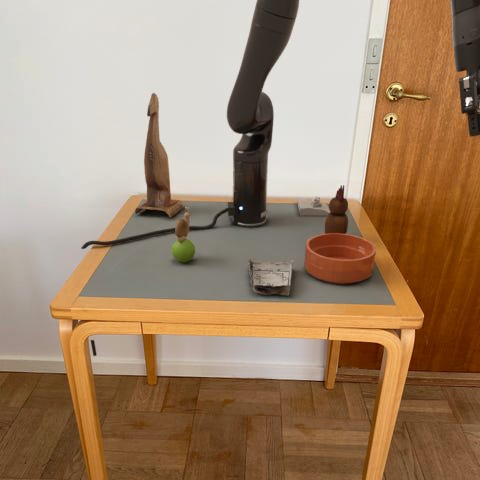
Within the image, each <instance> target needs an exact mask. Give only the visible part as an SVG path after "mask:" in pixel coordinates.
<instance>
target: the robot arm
mask: <svg viewBox="0 0 480 480" xmlns="http://www.w3.org/2000/svg"><path fill="white" fill-rule="evenodd" d="M299 7H300V0H256V2H255V7H254V11H253V15H252V19H251V22H250V23H251V24H250V27H249V28H250V29H249V32H248V36H247V41H246V44H245V48H244V51H243V56H242V60H241V63H240V66H239V70H238V74H237V76H236V79H235V82H234V85H233V87H232V91H231V93H230V96H229V99H228V102H227V107H226V120H227V124H228V126H229V128H230V129H231V131H232V132H233V133H235V134H239V135H241V137H240V139H239V141H238V142H237V144H236V145H235V146H234V147H233V150H232V201H227V207H226V208H224V209H222V210H220V211H218V213H216V214H215V215H214V217H213V220H212V222H211V223H209V224H208V225H204V226H203V225H202V226H199V225H189V231H190V230H193V231H201V230H202V231H203V230H209V229H212V228H213V227H215V225H216V224H217V221H218V219H219V218H220V217H221V216H222V215H225V213H227V217H232V224H233V226H240V227H246V228H254V227H255V228H256V227H260V226H262V225H265V224H266V223H267V215H268V212H269V210H268V209H267V199H268V197H267V196H268V195H267V194H268V170H269V169H268V168H269V152H270V151H271V148H272V143H273V133H274V132H273V131H274V117H275V115H274V114H275V113H274V105H273V101H272V99H271V98H270V96H269V95H268V94H267V93H266V92H264V91H263V90H264V86H265V83H266V81H267V79H268V77H269V75H270V73H271V71H272V70H273V68H274V67H275V65H276V63H277V62H278V61H279V60H280V58H281V56H282V54H283V53H284V51H285V49H286V48H287V46H288V44H289V41H290V39H291V36H292V34H293V30H294V26H295V23H296V20H297V16H298V12H299ZM450 11H451V36H452V46H453V47H452V48H453V56H454V57H453V59H454V67H455V72H456V73H461V72H466V75H465V76H464V77H460V78H459V79H458V84H459V86H458V87H459V98H460V112H461V114H462V115H464V114H465V116H466V117H467V124H468V125H467V127H468V135H469V137H471V138H472V137H478V136H480V0H450ZM173 232H175V227H172V228H171V227H170V228H166V229H165V228H164V229H159V230H154V231H149V232H146V233H142V234H137V235H132V236H128V237H124V238H119V239H113V240H107V241H100V240H89V241H86V242H85V243H84V244H83V245H82V246H81V247H80V249H82V250H85V249H87V248H88V247H89V246H92V245H97V246H112V245H117V244H121V243H126V242H130V241H135V240H139V239H143V238H144V239H145V238H148V237H152V236H157V235H162V234H167V233H173ZM90 345H91V350H92V351H91V352H92V356H93V357H96V356H97V349H96V343H95V340H94V339H90Z"/></svg>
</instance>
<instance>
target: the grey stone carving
mask: <svg viewBox="0 0 480 480" xmlns="http://www.w3.org/2000/svg"><path fill="white" fill-rule="evenodd" d="M297 208H298V212H299V215H300V216H319V217H320V216H322V217H323V216H326V217H327V215H328V214H329V213H330V210H329V204H327V203H326V202H325V203H324V202H322V201H321V197H320V196H319V197H318V196H315V197H313V198H312V199H311V200H310V199H303V198H298V199H297Z"/></svg>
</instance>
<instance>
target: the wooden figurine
mask: <svg viewBox="0 0 480 480" xmlns="http://www.w3.org/2000/svg"><path fill="white" fill-rule="evenodd" d="M328 207H329V210H330V213H329V214H328V215H327V216H326V217H325V220H324V234H327V233H342V234H348V229H349V217H348V214H347V211H348V209H349V201H348V200H347V198H345V185H340V188H338V189H337V190H336V193H335V196H334V197H332V198H331V199H330V201H329V204H328Z"/></svg>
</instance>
